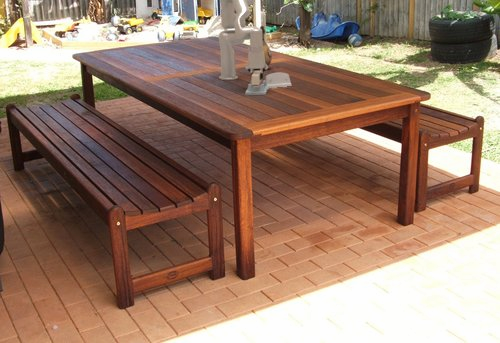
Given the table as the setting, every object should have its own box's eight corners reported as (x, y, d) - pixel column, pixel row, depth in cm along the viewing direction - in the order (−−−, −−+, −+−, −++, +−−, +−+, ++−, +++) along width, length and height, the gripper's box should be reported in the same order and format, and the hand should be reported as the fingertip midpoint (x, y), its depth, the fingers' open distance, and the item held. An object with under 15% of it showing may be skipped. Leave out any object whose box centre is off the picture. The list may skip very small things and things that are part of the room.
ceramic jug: (271, 71, 489) (271, 27, 479) (249, 71, 490) (249, 28, 480) (271, 66, 505) (271, 24, 496) (250, 66, 506) (249, 25, 496)
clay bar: (254, 79, 434) (254, 70, 432) (262, 79, 434) (262, 70, 432) (251, 84, 419) (251, 75, 417) (259, 84, 419) (258, 75, 417)
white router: (267, 88, 435) (265, 72, 435) (264, 90, 439) (263, 74, 439) (292, 86, 440) (290, 70, 440) (289, 87, 444) (287, 72, 444)
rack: (249, 88, 438) (249, 79, 436) (268, 88, 436) (268, 79, 434) (245, 94, 421) (245, 85, 419) (265, 94, 419) (265, 85, 417)
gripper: (241, 50, 418) (242, 80, 423) (269, 50, 415) (270, 80, 421) (243, 48, 425) (244, 78, 430) (271, 48, 422) (271, 78, 428)
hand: (256, 79), depth 426 cm, fingers closed on clay bar, 4 cm apart
